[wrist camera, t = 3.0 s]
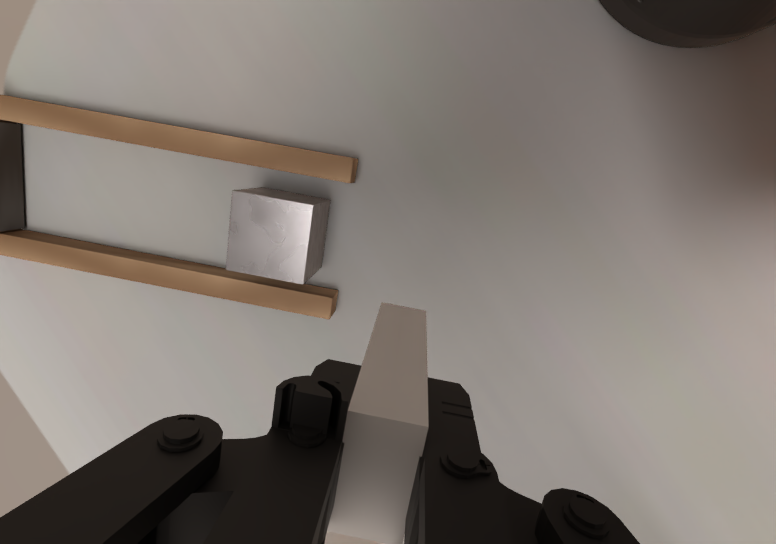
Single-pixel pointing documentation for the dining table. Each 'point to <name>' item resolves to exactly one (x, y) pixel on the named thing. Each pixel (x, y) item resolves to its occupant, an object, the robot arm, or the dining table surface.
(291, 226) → the block
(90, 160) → the dining table surface
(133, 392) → the dining table surface
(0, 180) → the oak track
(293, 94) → the dining table surface
